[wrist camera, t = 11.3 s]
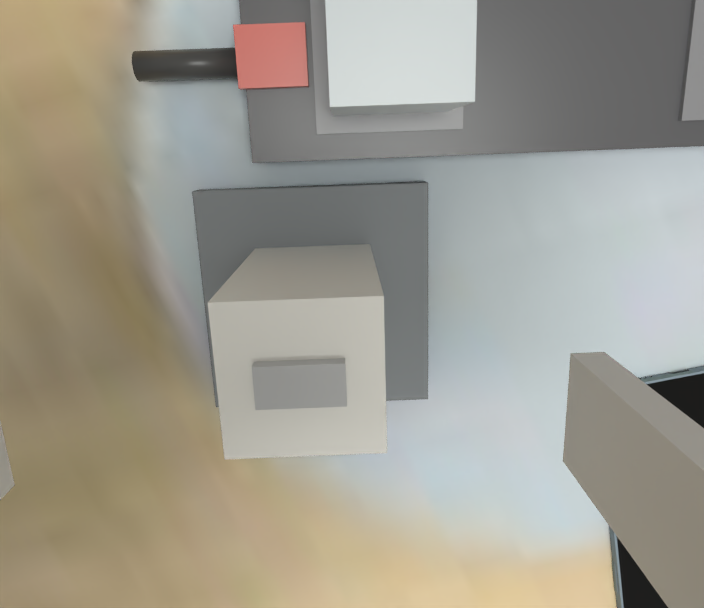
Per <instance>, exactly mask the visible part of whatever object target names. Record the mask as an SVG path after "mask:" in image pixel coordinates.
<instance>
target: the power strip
mask: <svg viewBox="0 0 704 608" xmlns="http://www.w3.org/2000/svg"><path fill="white" fill-rule="evenodd" d="M239 6H240V18H241V24H240V25H233V29H234V41H235V48H212V49H185V50H158V51H134V52H133V54H132V65H133V70H134V74H135V76H136V78H137V80H138V81H164V80H191V79H218V78H238V88H239V89H240V90H244V89H246V92H247V104H248V116H249V129H250V141H251V153H252V163H261V162H287V161H314V160H341V159H367V158H394V157H421V156H448V155H474V154H501V153H528V152H554V151H581V150H608V149H634V148H661V147H688V146H704V0H477V31H476V77H475V102H473V103H470V104H467V105H464V106H461V107H458V108H455V109H453V110H450V111H447V112H425V113H398V114H371V115H344V116H333V115H332V112H331V109H330V99H329V77H328V54H327V31H326V9H325V0H239Z"/></svg>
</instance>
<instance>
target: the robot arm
mask: <svg viewBox="0 0 704 608" xmlns="http://www.w3.org/2000/svg"><path fill="white" fill-rule="evenodd" d="M563 462H564V463H565V465H566V466H567V467H568V469H569V470H570V471H571V473H572V474H573V476H574V477H575V478H576V480H577V481H578V483H579V484H580V485H581V487H582V488H583V490H584V491H585V492H586V494H587V495H588V497H589V498H590V499H591V501H592V502H593V504H594V505H595V506H596V508H597V509H598V511H599V512H600V513H601V515H602V516H603V518H604V519H605V520H606V522H607V523H608V524H609V526H610V527H611V529H612V530H613V531H614V533H615V534H616V536H617V537H618V538H619V540H620V541H621V543H622V544H623V545H624V547H625V548H626V550H627V551H628V552H629V554H630V555H631V557H632V558H633V559H634V561H635V562H636V564H637V565H638V566H639V568H640V569H641V571H642V572H643V573H644V575H645V576H646V577H647V579H648V580H649V582H650V583H651V584H652V586H653V587H654V589H655V590H656V591H657V593H658V594H659V596H660V597H661V598H662V600H663V601H664V603H665V604H666V605H667V607H668V608H704V428H703V427H701V426H700V425H699V424H697V423H696V422H695V421H693V420H692V419H691V418H690V417H688V416H687V415H686V414H684V413H683V412H682V411H680V410H679V409H678V408H677V407H675V406H674V405H673V404H671V403H670V402H669V401H667V400H666V399H665V398H663V397H662V396H661V395H660V394H658V393H657V392H656V391H654V390H653V389H652V388H650V387H649V386H648V385H647V384H645V383H644V382H643V381H641V380H640V379H639V378H637V377H636V376H635V375H633V374H632V373H631V372H630V371H628V370H627V369H626V368H624V367H623V366H622V365H620V364H619V363H618V362H617V361H615V360H614V359H613V358H611V357H610V356H609V355H607V354H606V353H605V352H593V353H571V357H570V371H569V384H568V398H567V412H566V426H565V440H564V453H563ZM14 485H15V484H14V480H13V475H12V471H11V466H10V462H9V457H8V453H7V448H6V444H5V440H4V435H3V431H2V426H1V422H0V500H1V499H2V498H3V497H4V496H5V495H6V494H7V493H8V492H9V491H10V490H11V488H12V487H13V486H14Z"/></svg>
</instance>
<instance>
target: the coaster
mask: <svg viewBox="0 0 704 608" xmlns="http://www.w3.org/2000/svg"><path fill="white" fill-rule="evenodd" d="M192 194H193V203H194V212H195V221H196V230H197V240H198V249H199V258H200V267H201V276H202V285H203V294H204V303H205V312H206V321H207V330H208V339H209V348H210V357H211V366H212V375H213V384H214V393H215V402H216V407H219V404H218V395H217V385H216V376H215V367H214V358H213V349H212V340H211V331H210V321H209V312H208V302H209V300H210V299H211V298H212V297H213V296H214V295H215V294H216V292H217V291H218V290H219V289H220V288H221V287H222V286H223V284H224V283H225V282H226V281H227V280H228V279H229V278H230V277H231V275H232V274H233V273H234V272H235V271H236V270H237V269H238V267H239V266H240V265H241V264H242V263H243V262H244V261H245V259H246V258H247V257H248V256H249V255H250V254H251V253H252V252H253V250H254V249H255V248H279V247H305V246H332V245H358V244H370V246H371V250H372V254H373V257H374V261H375V265H376V269H377V272H378V276H379V280H380V284H381V287H382V291H383V295H384V327H385V374H386V401H391V400H416V399H428V183H427V182H425V181H421V182H394V183H367V184H341V185H314V186H288V187H261V188H235V189H208V190H197V191H193V192H192Z"/></svg>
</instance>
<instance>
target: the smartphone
mask: <svg viewBox="0 0 704 608" xmlns="http://www.w3.org/2000/svg"><path fill="white" fill-rule="evenodd" d="M645 378H646V379H645ZM645 378H640V380H641V381H643V382H644V383H645V384H647V385H648V386H649V387H650V388H652V389H653V390H654V391H656V392H657V393H658V394H660V395H661V396H662V397H663V398H665V399H666V400H667V401H669V402H670V403H671V404H673V405H674V406H675V407H677V408H678V409H679V410H680V411H682V412H683V413H684V414H686V415H687V416H688V417H690V418H691V419H692V420H693V421H695V422H696V423H697V424H699V425H700V426H701V427H703V428H704V366H701V367H695V368H690V369H687V371H685V372H680V373H675V374H671V373H664V374H659V375H654V376H651V377H650V376H649V377H645ZM609 530H610V540H611V550H612V568H613V578H614V588H615V592H616V602H617V608H668V607H667V605H666V604H665V603H664V601H663V600H662V598H661V597H660V596H659V594H658V593H657V591H656V590H655V589H654V587H653V586H652V584H651V583H650V582H649V580H648V579H647V577H646V576H645V575H644V573H643V572H642V571H641V569H640V568H639V566H638V565H637V564H636V562H635V561H634V559H633V558H632V557H631V555H630V554H629V552H628V551H627V550H626V548H625V547H624V545H623V544H622V543H621V541H620V540H619V538H618V537H617V536H616V534H615V533H614V531H613V530H612V529H611V527H610V526H609Z"/></svg>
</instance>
